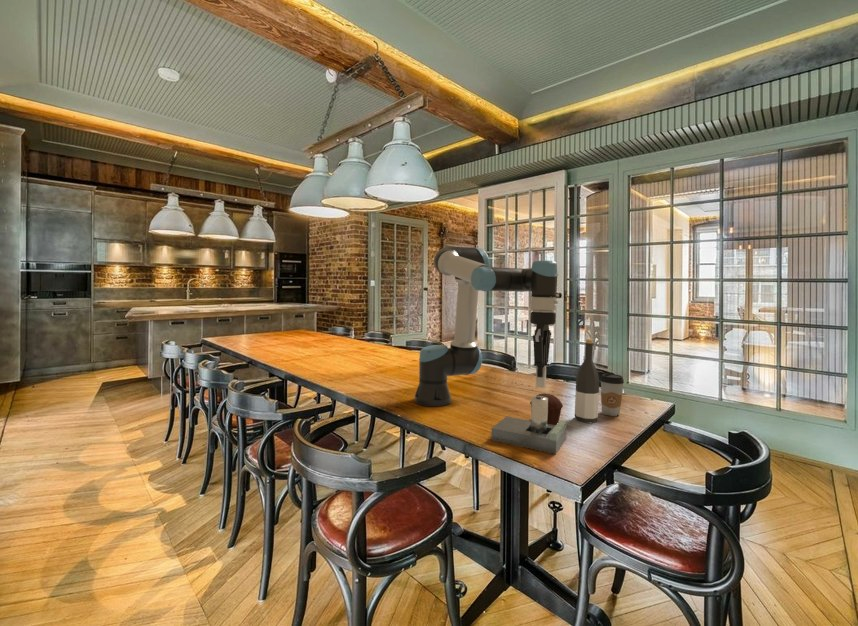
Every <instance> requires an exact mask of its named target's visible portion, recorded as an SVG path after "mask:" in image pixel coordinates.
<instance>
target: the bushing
mask: <svg viewBox="0 0 858 626" xmlns="http://www.w3.org/2000/svg"><path fill="white" fill-rule="evenodd" d="M530 402H531V404H530V406H531V407H530V421H531V430H530V432H535V433H541V434H546V435H547V417H548V398H547V397H543V396H536V395H533V396H531V401H530Z"/></svg>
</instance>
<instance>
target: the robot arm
mask: <svg viewBox="0 0 858 626" xmlns="http://www.w3.org/2000/svg"><path fill="white" fill-rule="evenodd" d="M531 264H532V265H531V267H530V268H529V267H527V268H520V267H519V268H518V267H497V266H491V262H490V258H489V255H488V253H487V252H486V250H484V249H483V248H480V247H479V248H478V247H474V246H472V247H471V246H470V247H468V246H454V245H453V246H451V245H449V246H446V247H442V248H441V249H439V250H438V251H437V252H436V253H435V255H434V257H433V266H434V268H435V269H436V271H437V272H438V273H440V274H442V275H444V276H452V277H454V280H455V281H456V283H457V294H456V295H457V296H456V310H455V323H454V324H455V325H454V339H453V340H452V341H451V342H450V347H448V345H446V344H434V345H432V344H431V345H426V346H424V347H422V348H421V349H420V352H419V359H418V361H419V368H418V369H419V371H418V373H419V376H418V385H417V389H416V390H415V394H414V402H415V404H417V405H419V406H425V407H443V406H448V405H449V404H451V403H452V396H451V394H450V393H451V392H450V389H449V385H448V377H451V376H452V377H453V376H469V375H473V374H474V375H475V374H476V373H478V371H480V369H481V367H482V364H483V355H482V353H483V352H482V351H481V348H479V346H478V343H477V342H476V341H475V338H476V337H475V336H476V327H477V326H476V325H477V311H478V310H477V309H478V299H479V291H480V292H481V291H482V292H516V293H517V292H518V293H519V292H520V293H523V292H527V293H529V292H530V293H531V294H530V310H531V312H530V321H529V322H530V323H531V324H533V325H536V326H535V329H534V334H533V335H532V339H533V340H532V341H533V360H534V363H533V367H536V368H535V369H536V370H535V387H536V388H542V389H545V388H547V387H546V386H547V382H546V381H547V366H548V367H549V366H550V363H549V358H550V357H549V356H550V348H551V347H550V345H551V337H552V332H551V330H550V326H551V325H553V326H554V325H555V324H557V323H556V319H557V314H556V312H555V311H556V310H557V305H558V304H559V301H558V300H557V290H558V288H557V287H558V275H559V273H558V263H557V262H556V261H554V260H534V261H532V263H531Z"/></svg>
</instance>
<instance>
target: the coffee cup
mask: <svg viewBox="0 0 858 626" xmlns="http://www.w3.org/2000/svg"><path fill="white" fill-rule="evenodd" d="M599 382H600V401H601V402H600V403H601V404H600V405H601V412H602V414H603V415H604V416H609V415H610V417H617V415H618V416H620V413H621V412H620V411H621V406H622V405H621V404H622V399H623V387H624V383H625V382H624V377H623V375H622V374H621V375H620V374H616V373H603V374H601V377H600V379H599Z"/></svg>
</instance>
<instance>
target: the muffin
mask: <svg viewBox="0 0 858 626" xmlns="http://www.w3.org/2000/svg"><path fill="white" fill-rule="evenodd" d="M535 396H543V397H547V398H548V417H547V424H551V425H557V423H558V422H559V421H560V417H561V412H562V409H563V407H564V405H563V403H562V401H561V399H559V398H558V397H557V396H555V395H553V394H551V393H543V392H542V393H538V394H537V395H535ZM529 403H530V405H531V401H530V402H529Z"/></svg>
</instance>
